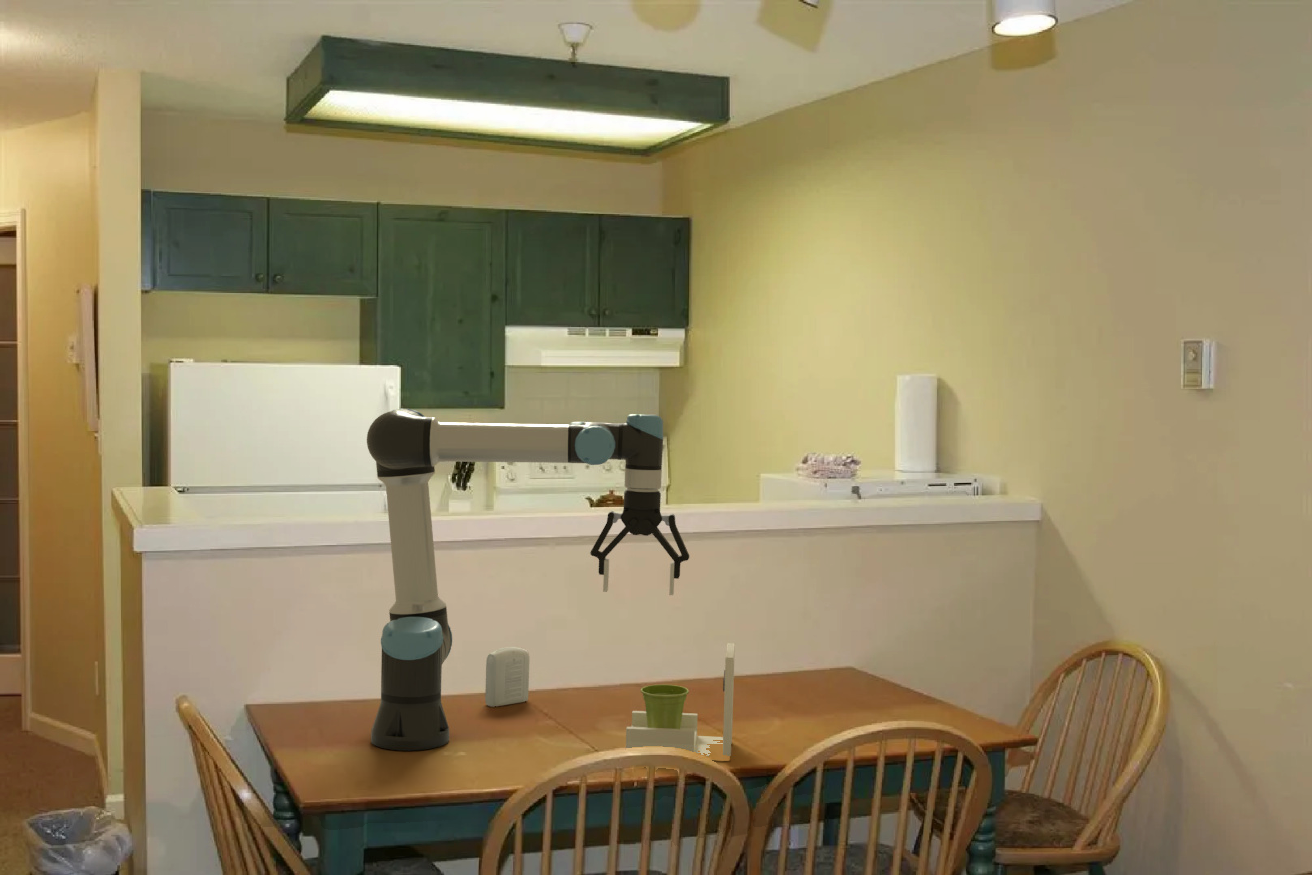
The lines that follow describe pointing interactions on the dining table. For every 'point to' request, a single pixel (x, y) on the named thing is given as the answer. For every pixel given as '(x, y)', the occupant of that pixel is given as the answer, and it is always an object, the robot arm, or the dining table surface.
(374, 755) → the dining table surface
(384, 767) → the dining table surface
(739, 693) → the dining table surface
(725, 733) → the bracket shelf
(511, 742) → the dining table surface
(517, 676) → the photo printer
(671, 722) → the plant pot
